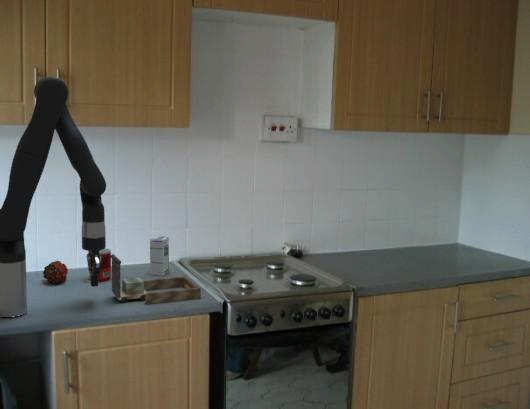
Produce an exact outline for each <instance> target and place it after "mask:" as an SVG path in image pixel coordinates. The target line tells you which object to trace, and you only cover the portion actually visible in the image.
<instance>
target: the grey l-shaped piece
mask: <svg viewBox="0 0 530 409" xmlns="http://www.w3.org/2000/svg"><path fill="white" fill-rule="evenodd" d="M121 264H122V260H120V259H119V258H118V257H117V256H116V255H115V254H112V253H111V292H112V294H113V295H114V297H115V298H116V299H117V300H118V301H121V302H122V303H123V304H125V303H127V302H128V300H136V299H140V300H141V301H143V302H145V293H148V291H145V290H144V281H143V280H144V279H142V278H141V277H128V278H122V279H121Z"/></svg>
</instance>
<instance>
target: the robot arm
mask: <svg viewBox="0 0 530 409" xmlns="http://www.w3.org/2000/svg"><path fill="white" fill-rule="evenodd" d="M33 95H34V98H35V99H36V100H35V104H34V108H33V113H32V116H31V119H30V120H29V123H28V124H27V127H26V128H25V130H24V131H23V133H22V135H21V137H20V139H19V141H18V144H17V146H16V149H15V152H14V155H13V158H12V162H11V166H10V170H9V171H10V172H9V178H8V187H7V191H6V196H5V198H4V201H3V203H2V206H1V207H0V318H2V317H12V316H18V315H22V314H24V315H26V314H27V313H28V294H27V293H28V292H27V291H28V290H27V289H28V288H27V287H28V286H27V257H26V255H27V254H26V247H25V230H26V228H27V224H28V218H29V212H30V208H31V203H32V200H33V197H34V195H35V193H36V190H37V188H38V184H39V182H40V181H41V177H42V174H43V172H44V169H45V166H46V164H47V160H48V158H49V157H48V156H49V154H50V150H51V148H52V142H53V138H54V134H55V131H56V133H57V136H58V138H59V140H60V143H61V145H62V147H63V150H64V151H65V154H66V155H67V159H68V160H69V163H70V164H71V167H72V168H73V169H74V170H75V172H76V173H77V174H78V177H79V179H80V180H79V195H80V202H81V205H82V209H81V210H82V211H81V221H82V222H81V223H82V224H81V249H82V250H83V251H87V253H86V262H87V263H86V264H87V267H88V268H87V270H88V273H89V279H90V286H91V287H98V286H99V282H98V275H100V271H101V266H102V262H100V261H101V255H100V254H99V251H100V250H103V249H106V247H107V246H106V242H107V241H106V233H107V232H106V221H105V216H106V215H105V206H104V204H103V202H102V195H103V194H104V193H105V192H106V190H107V183H106V182H107V181H106V179H105V177H104V175H103V173H102V172H101V169H100V168H99V167H98V166H99V165H97V163H96V161H95V159H94V157H93V155H92V152H91V150H90V148H89V146H88V142H86V140H85V138H84V136H83V134H82V132H81V131H80V130H79V128H78V126H77V125H76V123H75V121H74V120H73V119H74V118H73V117H72V115H71V113H70V111H69V109H68V108H69V107H68V105H67V101H68V99H69V87H68V85H67V84H66V82H65V81H63V79H61V78H59V77H57V76H55V77H54V76H49V77H47V76H46V77H42V78H41V79H39V80H38V81H37V82H36V84H35V85H34V88H33ZM26 312H27V313H26ZM25 313H26V314H25ZM22 316H23V315H22Z"/></svg>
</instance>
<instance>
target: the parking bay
mask: <svg viewBox="0 0 530 409" xmlns="http://www.w3.org/2000/svg"><path fill="white" fill-rule="evenodd" d="M142 280H143V281H144V290H145V291H146V292H147V293H145V300H144V304H145V305H154V304H162V303H169V302H180V301H188V300H189V301H190V300H198V299H199V300H200V299H201V298H202V297H201V295H202V292H201V291H202V289H201V287H200V286H198V285H197V284H196V283H194V282H193V281H192V280H190V279H189V278H188V277H187V276H174V277H165V278H155V279H154V278H153V279H142ZM174 288H175V289H174ZM176 288H182V289H176ZM165 289H171V290H165ZM172 289H173V290H172ZM155 290H157V291H155ZM158 290H162V291H158ZM148 291H153V292H148Z"/></svg>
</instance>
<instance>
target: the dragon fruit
mask: <svg viewBox="0 0 530 409" xmlns="http://www.w3.org/2000/svg"><path fill="white" fill-rule="evenodd" d="M68 270H69V269H68V267H67V265H66V264H65V263H62V261H60V260H55V261H51V262H50V263H49V264H47V265H46V266H44V268H43V271H42V275H43V276H42V277H43V278H44V279H46V281H48V282H49V281H51V282H50V283H52V284H56V283H57V284H58V283H60V282H65V281H66V280H67V275H68V274H69V271H68Z"/></svg>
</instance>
